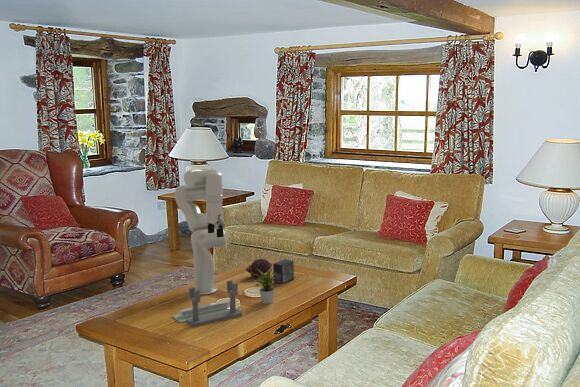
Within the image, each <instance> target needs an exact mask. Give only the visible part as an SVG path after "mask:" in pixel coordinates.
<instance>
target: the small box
mask: <svg viewBox="0 0 580 387" xmlns="http://www.w3.org/2000/svg"><path fill="white" fill-rule="evenodd" d="M294 263H295V262H294V260H293V259H287V258H284V259H281V260H279V261H276V262H274V263H272V272H273V271H274V272H273V275H274V273H275V275H274V277H275V276H276V277H275V278H274V277H273V278H274V279H273V283H274V282H275V283H274V284H280V285H284V284H286V283H288V282H291V281H292V280H295V272H294V271H295V269H294V268H295V266H294ZM273 275H272V276H273ZM276 281H279V282H276Z"/></svg>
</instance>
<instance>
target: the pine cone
mask: <svg viewBox="0 0 580 387" xmlns="http://www.w3.org/2000/svg"><path fill="white" fill-rule="evenodd" d="M271 268H273V263H271V262H269V260H267V259H265V258H257V259H254V260H253V261H252V263H251V264H248V267H245V271H246V272H247V273H249V274H250V276H251V277H253V278H257V279H258V278H259V279H260V277H262V275H261V273H260V271H261V272H263V273H264V275H265V274H267V272H268V270H269V271H270V269H271ZM257 269H258V270H257ZM259 270H260V271H259ZM256 274H257V275H256ZM258 275H259V276H260V277H259V276H258Z"/></svg>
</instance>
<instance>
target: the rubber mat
mask: <svg viewBox="0 0 580 387" xmlns="http://www.w3.org/2000/svg"><path fill="white" fill-rule="evenodd" d="M236 309H237V310H239V311H240V308H239V307H238V306H236ZM228 310H230V309H223V310H219V311H214V312H209V313H205V314H200V315H198V317H201V316H205V315H210V314H215V313H219V312H224V311H228ZM171 316H172V318H174V319H175V320H176V321H177V322H178V323H179V324H182V323H187V319H192V318H193V316H191V317H187V318H182V317H180V313H179V314H173V315H171Z"/></svg>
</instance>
